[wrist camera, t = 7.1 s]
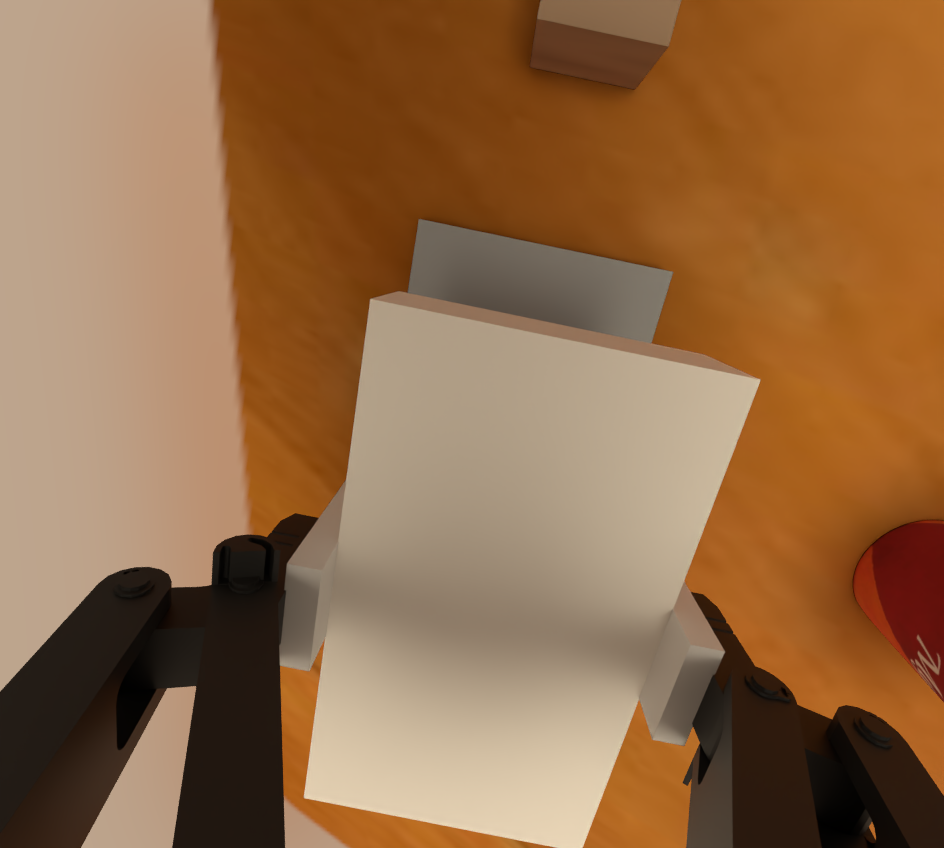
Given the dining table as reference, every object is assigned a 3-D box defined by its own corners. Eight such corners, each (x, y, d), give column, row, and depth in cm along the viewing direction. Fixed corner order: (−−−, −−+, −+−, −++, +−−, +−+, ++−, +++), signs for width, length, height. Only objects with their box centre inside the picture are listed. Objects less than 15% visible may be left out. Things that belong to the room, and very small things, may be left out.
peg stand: (423, 221, 21) (393, 205, 15) (663, 271, 21) (728, 275, 15) (365, 589, 26) (326, 685, 20) (555, 628, 26) (571, 733, 21)
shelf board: (398, 290, 13) (370, 298, 10) (703, 354, 13) (760, 379, 10) (336, 709, 17) (303, 798, 14) (567, 755, 17) (580, 852, 15)
